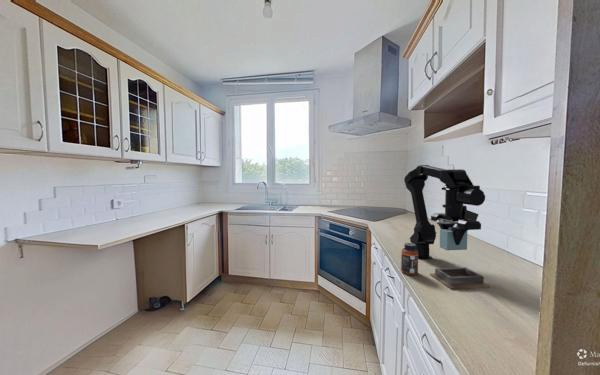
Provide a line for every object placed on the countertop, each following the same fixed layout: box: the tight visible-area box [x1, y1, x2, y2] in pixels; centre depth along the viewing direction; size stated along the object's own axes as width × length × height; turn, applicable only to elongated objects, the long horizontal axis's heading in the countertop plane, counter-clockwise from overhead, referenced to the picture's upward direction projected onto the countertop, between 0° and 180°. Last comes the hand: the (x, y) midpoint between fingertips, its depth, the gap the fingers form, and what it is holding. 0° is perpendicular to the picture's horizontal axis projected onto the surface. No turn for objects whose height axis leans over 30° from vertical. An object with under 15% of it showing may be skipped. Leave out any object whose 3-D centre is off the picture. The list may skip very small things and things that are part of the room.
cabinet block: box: [439, 227, 468, 251], centre depth 89 cm, size 4×8×8 cm, turn 95°
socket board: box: [429, 267, 491, 290], centre depth 84 cm, size 11×14×3 cm
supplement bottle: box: [400, 242, 419, 276], centre depth 91 cm, size 6×6×11 cm
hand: (453, 243), depth 89 cm, fingers closed on cabinet block, 4 cm apart
